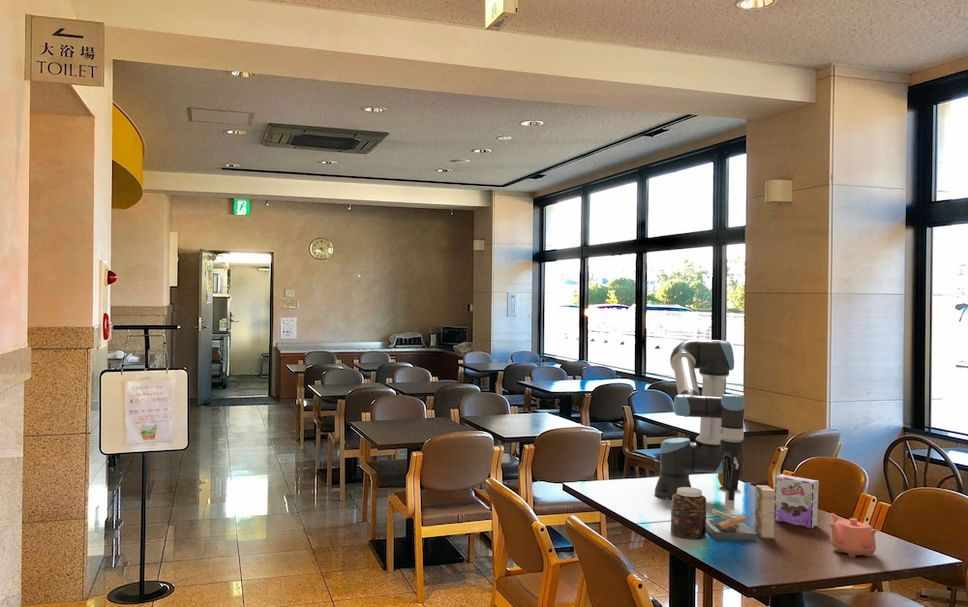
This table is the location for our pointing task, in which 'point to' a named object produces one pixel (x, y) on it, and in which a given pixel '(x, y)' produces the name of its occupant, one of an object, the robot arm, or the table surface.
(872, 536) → the pink rounded pig figure
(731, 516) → the paddle far
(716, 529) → the grey square base
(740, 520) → the orange wooden board
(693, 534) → the jar
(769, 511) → the birch block
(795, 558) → the table surface
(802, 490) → the candy box
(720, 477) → the apple
